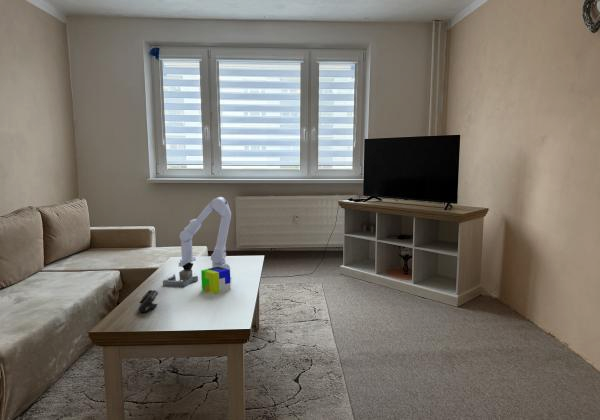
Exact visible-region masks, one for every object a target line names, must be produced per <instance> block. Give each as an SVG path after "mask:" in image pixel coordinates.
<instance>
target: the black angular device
mask: <svg viewBox="0 0 600 420" xmlns="http://www.w3.org/2000/svg"><path fill="white" fill-rule="evenodd" d="M158 294H159V293H158V291H157V290H154V289H153V290H151V289H149V290H148V291H147V292H146V293H145V294H144V295H143V296H142V297H141V299H140V301H139V306H138V309H137V310H138V311H139V312H140V313H141V314H143V313H146V312H148V311H149V310H151V309H155V308H156V307H157V305H158V304H157V303H153V302H154V301H155V299H156V298H157V296H158Z"/></svg>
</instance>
